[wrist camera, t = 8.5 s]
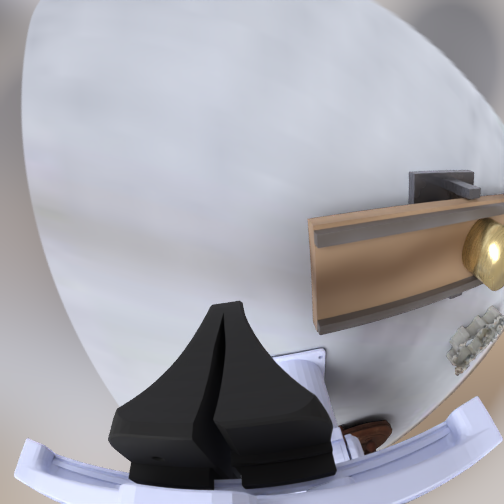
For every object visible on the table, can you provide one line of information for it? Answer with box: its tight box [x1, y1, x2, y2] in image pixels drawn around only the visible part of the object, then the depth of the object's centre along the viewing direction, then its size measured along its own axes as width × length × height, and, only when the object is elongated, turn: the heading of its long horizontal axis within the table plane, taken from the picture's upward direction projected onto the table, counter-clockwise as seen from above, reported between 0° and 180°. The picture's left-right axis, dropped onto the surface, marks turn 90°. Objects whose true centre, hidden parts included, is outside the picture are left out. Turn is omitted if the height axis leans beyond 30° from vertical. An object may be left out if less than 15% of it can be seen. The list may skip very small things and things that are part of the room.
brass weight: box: [462, 217, 504, 291], centre depth 15 cm, size 5×5×4 cm
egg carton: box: [446, 306, 504, 376], centre depth 27 cm, size 11×8×4 cm
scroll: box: [338, 420, 392, 455], centre depth 28 cm, size 15×15×20 cm
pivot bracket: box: [409, 170, 481, 299], centre depth 19 cm, size 11×8×4 cm
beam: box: [308, 194, 504, 335], centre depth 17 cm, size 8×28×2 cm, turn 99°
